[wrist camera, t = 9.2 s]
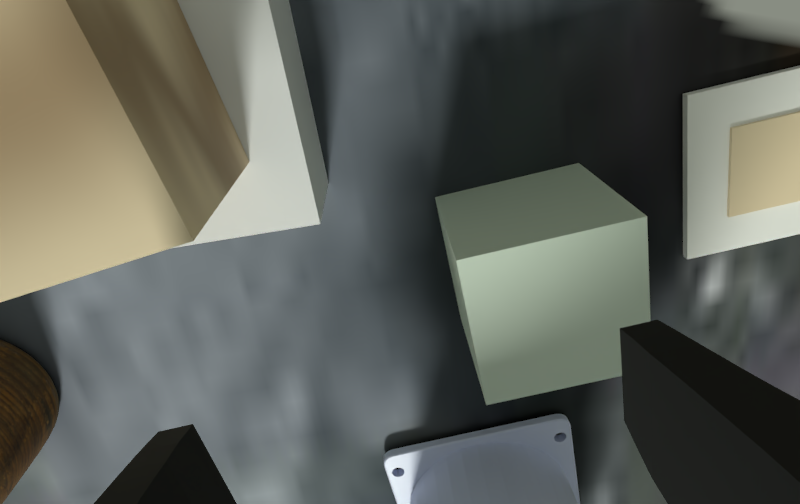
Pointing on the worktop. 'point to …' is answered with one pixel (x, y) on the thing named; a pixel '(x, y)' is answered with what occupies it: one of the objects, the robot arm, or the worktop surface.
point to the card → (741, 163)
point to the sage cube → (545, 278)
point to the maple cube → (104, 138)
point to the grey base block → (261, 116)
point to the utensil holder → (23, 413)
